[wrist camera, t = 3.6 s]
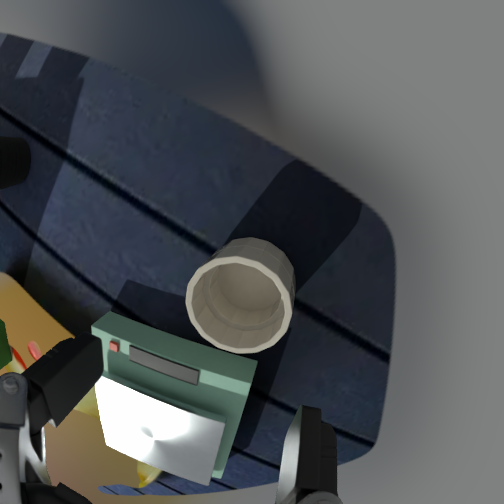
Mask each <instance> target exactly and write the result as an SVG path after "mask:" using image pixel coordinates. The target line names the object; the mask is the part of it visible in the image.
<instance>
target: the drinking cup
mask: <svg viewBox="0 0 504 504" xmlns="http://www.w3.org/2000/svg"><path fill="white" fill-rule="evenodd" d="M29 168H30V149H29V146H28V144H27V142H26V141H25V140H24V139H23V138H16V137H3V136H0V190H1V189H4V188H7V187H10V186H13V185H16V184H19V183H21V182H23V181H24V180H25V178H26V176H27V174H28V172H29Z"/></svg>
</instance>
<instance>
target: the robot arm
mask: <svg viewBox="0 0 504 504" xmlns="http://www.w3.org/2000/svg"><path fill="white" fill-rule="evenodd" d="M103 370H104V360H103V348H102V340H101V338H99V337H97V336H95V335H92V334H90V333H88V332H86V331H83V332H82V333H80V334H79V335H78V336H77V337H75V338H74V339H73V338H68V339H66V340H63V341H60V342H59V343H58V344H56V345H55V346H54V347H53V348H52V350H51V349H50V350H49V351H48V352H47V353H46V355H43V356H42V357H41V358H39V359H38V360H37V361H36V362H35V363H33V364H32V365H31V366H30V367H29V368H27V369H26V370H25V371H24V372H23V373H21V374H19V373H15V372H9V373H5V374H3V375H1V376H0V504H92V503H91V502H90V501H89V500H88V499H87V498H85V497H84V496H82V495H80V494H78V493H77V492H75V491H74V490H72V489H70V488H69V487H67V486H66V485H64V484H62V483H61V482H60V483H59V484H58V485H57V487H56V486H52V485H51V480H50V477H49V474H48V471H47V466H46V455H45V431H44V425H45V424H46V423H47V422H48V423H50V424H51V425H53V426H54V427H56V428H57V426H58V425H59V424H60V423H61V422H62V421H63V420H64V419H65V417H66V416H67V415H68V414H69V413H70V412H71V411H72V409H73V408H74V407H75V406H76V405H77V404H78V403H79V402H80V400H81V399H82V398H83V397H84V396H85V395H86V394H87V393H88V392H89V390H90V389H91V388H92V387H93V386H94V385H95V384H96V383H97V382H98V380H99V379H100V378H101V376H102V374H103ZM336 447H337V440H336V434H335V432H334V430H333V428H332V426H331V424H326V423H321V409H319V408H314V407H309V406H304V405H300V407H299V409H298V411H297V413H296V415H295V417H294V419H293V421H292V423H291V425H290V427H289V429H288V432H287V435H286V438H285V442H284V449H283V456H282V463H281V470H280V476H279V482H278V489H277V495H276V501H275V504H343V503H342V501H341V500H340V499H339V497H338V494H337V458H336V457H337V449H336Z"/></svg>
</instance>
